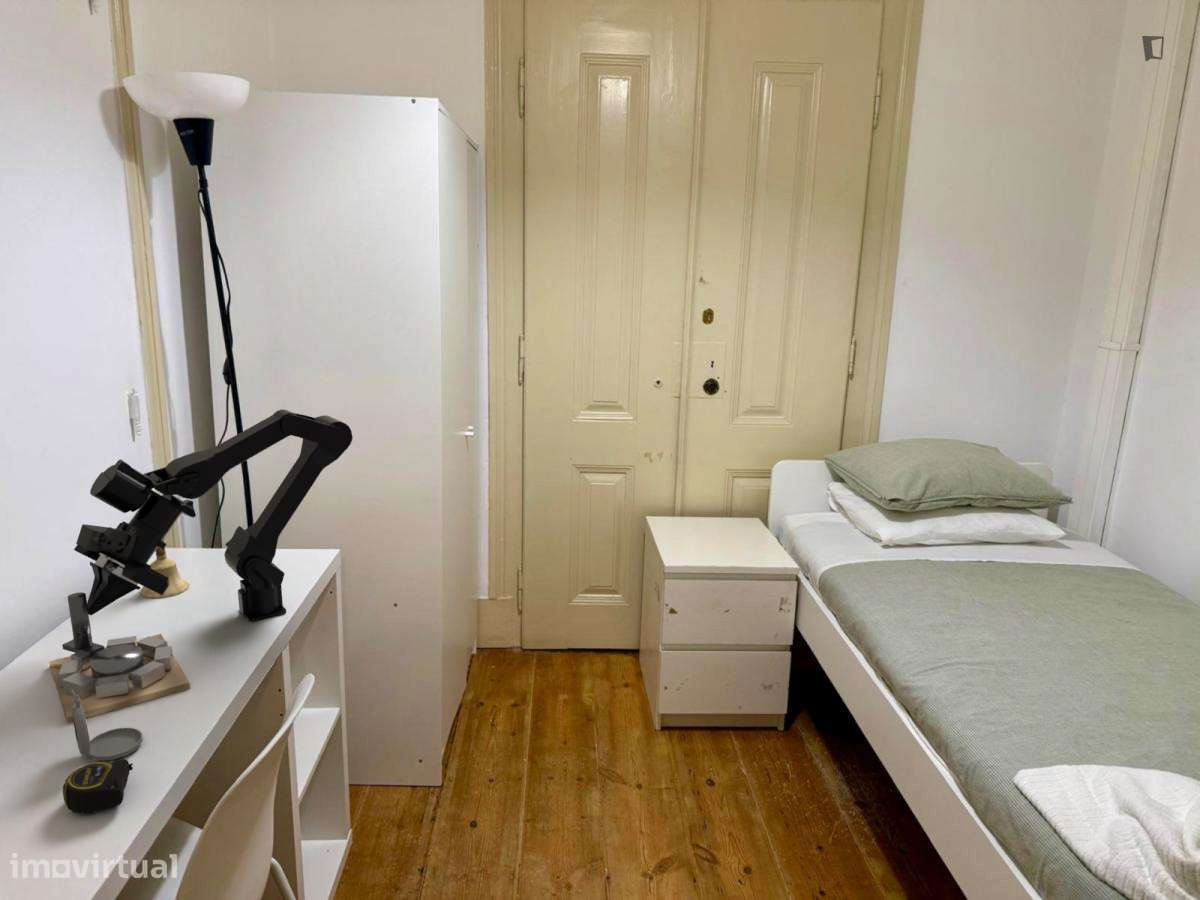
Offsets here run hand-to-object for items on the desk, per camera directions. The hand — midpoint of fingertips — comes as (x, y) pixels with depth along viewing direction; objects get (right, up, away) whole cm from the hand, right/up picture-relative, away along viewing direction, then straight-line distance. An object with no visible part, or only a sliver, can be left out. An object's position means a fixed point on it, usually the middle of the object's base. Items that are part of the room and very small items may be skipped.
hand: (87, 614), depth 133 cm
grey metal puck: (+6, -10, -1) cm, 11 cm away
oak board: (+6, -10, -1) cm, 11 cm away
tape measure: (+19, -18, -28) cm, 38 cm away
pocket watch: (+14, -15, -19) cm, 28 cm away
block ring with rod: (+5, -8, -1) cm, 10 cm away
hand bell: (-3, -1, +30) cm, 30 cm away
